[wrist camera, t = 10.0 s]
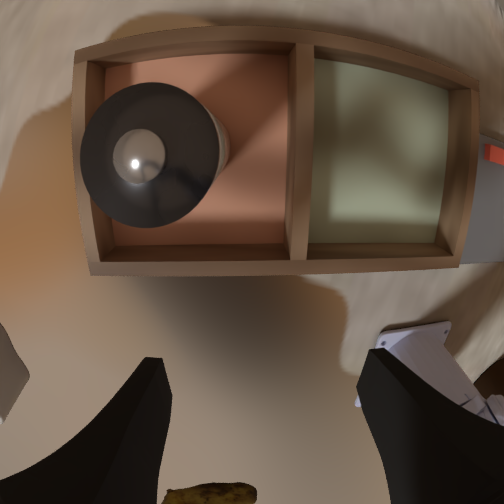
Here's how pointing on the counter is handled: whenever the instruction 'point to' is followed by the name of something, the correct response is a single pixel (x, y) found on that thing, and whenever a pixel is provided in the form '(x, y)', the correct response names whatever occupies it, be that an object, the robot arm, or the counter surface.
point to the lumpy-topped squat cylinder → (10, 375)
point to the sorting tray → (295, 154)
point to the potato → (213, 494)
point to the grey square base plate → (487, 206)
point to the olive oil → (491, 381)
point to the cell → (152, 154)
